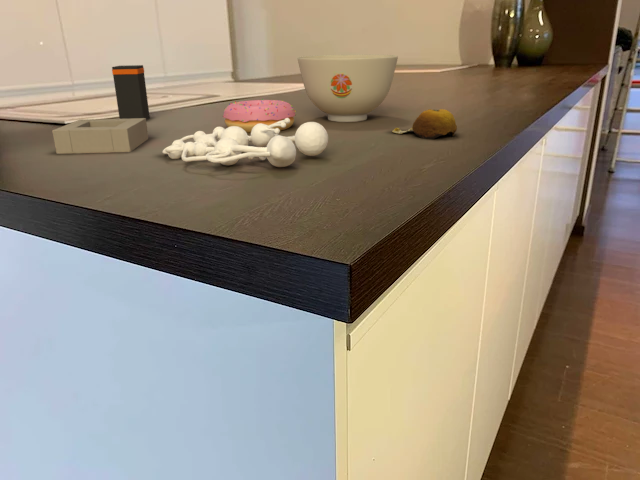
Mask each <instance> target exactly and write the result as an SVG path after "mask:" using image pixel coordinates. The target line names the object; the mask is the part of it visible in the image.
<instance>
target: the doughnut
mask: <svg viewBox="0 0 640 480" xmlns="http://www.w3.org/2000/svg"><path fill="white" fill-rule="evenodd" d="M225 107H226V108H224V111H223V115H222V118H223V119H224V124H225V125H226V128H228V127H230V126H238V127H240V128H242V129H243V130H245V131H246V133H247V134H251V131H252V128H253V127H254V126H255V125H257V124H259V123H262V124H266V125H268V126H269V125H271V124H274V123H276V122H279V121H282V120H285V118H289V119H290V122H289V123H288V124H286V127H285V128H282V127H281V126H277V127H273V129H276V128H278V129H279V130H280V132H281V131H285V130H287V129H290V128H291V127H292V126H293V124H294V123H295V116H297V114H296V112H297V110H295V108H294V106H293V105H292V104H291V103H289V102H287V101H284V100H283V99H281V100H279V99H278V100H277V99H264V98H261V99H252V100H240V101H236V100H235V101H233V102H231V103H229V104H228V105H227V106H225Z"/></svg>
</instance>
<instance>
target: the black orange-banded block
mask: <svg viewBox="0 0 640 480" xmlns="http://www.w3.org/2000/svg"><path fill="white" fill-rule="evenodd" d="M111 74H112V76H113V84H114V90H115V97H116V103H117V104H116V105H117V111H118V112H117V113H118V119H132V118H146V121H147V120H149V119H151V117H150V108H149V101H148V93H147V85H146V77H145V68H144V65H143V64H137V65H136V64H135V65H133V64H132V65H115V66H111Z"/></svg>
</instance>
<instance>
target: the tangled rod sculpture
mask: <svg viewBox="0 0 640 480" xmlns="http://www.w3.org/2000/svg"><path fill="white" fill-rule="evenodd" d="M289 122H290V119H289V118H285V120H282V121H279V122H276V123H274V124H271V125H269V126H268V125H266V124H262V123H259V124H257V125H255V126H254V127H253V128H252V131H251V133H250V135H248V133H246V131H245V130H243V129H242V128H240V127H238V126H230V127H226V128H225V127H222V126H216V127H215V128H213V130H212V133H205V131H203V130H198V131H195V133H194V134H189V135H185V136H183V137H182V138H180V139H175V140H173V142H172V143H171V145H168V146H167V147H165V148H164V149H162V151H161V152H162V154H163V155H168V157H169V158H170V159H172V160H179V159H181V160H182V161H183V162H187V163H189V162H199V161H208V162H211V163H214V164H220V165H223V166H233V165H235V164H237V163H238V162H239V160H242V159H246V158H247V159H248V160H254V158H259V160H260V161H265V160H266V159H267V161H268V162H269V163H270V164H271V165H272V166H274V167H276V168H284V167H288V166H290V165H291V164H292V165H293V163H294V162H295V160H296V158H297V157H296V156H297V150H298V151H299V152H300V153H302V154H303V155H305V156H308V157H314V156H315V157H316V156H318V155H320V154H322V153H323V152H324V151H325V150H326V149H327V146H328V143H329V134H328V131H327V130H326V128H325V127H324V126H323V125H322V124H321V123H319V122H316V121H307V122H304V123H302V124H301V125H299V127H298V128H297V129H296V131H295V134H294V135H291V136H283V135H282V134H280V132H281V131H280V130H279V129H278V128H276V129H273V127H277V126H281V127H282V128H285V127H286V124H288V123H289ZM190 139H193V141H187V140H190ZM186 141H187V142H186ZM249 143H252V145H253V146H251V145H249Z"/></svg>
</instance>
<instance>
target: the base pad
mask: <svg viewBox="0 0 640 480" xmlns="http://www.w3.org/2000/svg"><path fill="white" fill-rule="evenodd" d="M148 132H149V131H148V123H147V120H146V118H132V119H120V118H95V119H94V118H91V119H88V118H87V119H78V120H75V121H73V122H70V123H68V124H65V125H63V126H60V127H57V128H55V129H52V137H53V142H54V143H53V144H54V146H55V152H56V153H55V154H58V155H59V154H60V155H61V154H62V155H63V154H93V153H94V154H100V153H101V154H102V153H131V152H132V151H134V150H135V149H136V148H138V147H139V146H141V145H142V144H144V143H145V142H147V141H148V140H149V133H148Z"/></svg>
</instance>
